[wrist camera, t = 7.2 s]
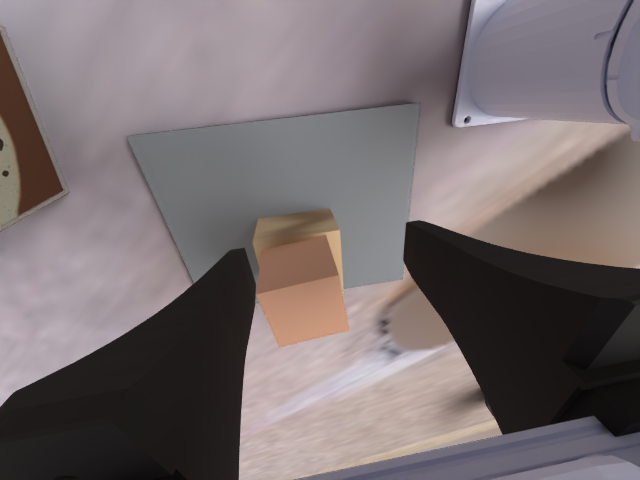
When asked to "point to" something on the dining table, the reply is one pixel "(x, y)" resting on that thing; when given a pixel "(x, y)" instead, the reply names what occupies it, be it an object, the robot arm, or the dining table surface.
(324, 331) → the terracotta block
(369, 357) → the dining table surface
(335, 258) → the oak base block
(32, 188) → the food container
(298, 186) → the slate board
